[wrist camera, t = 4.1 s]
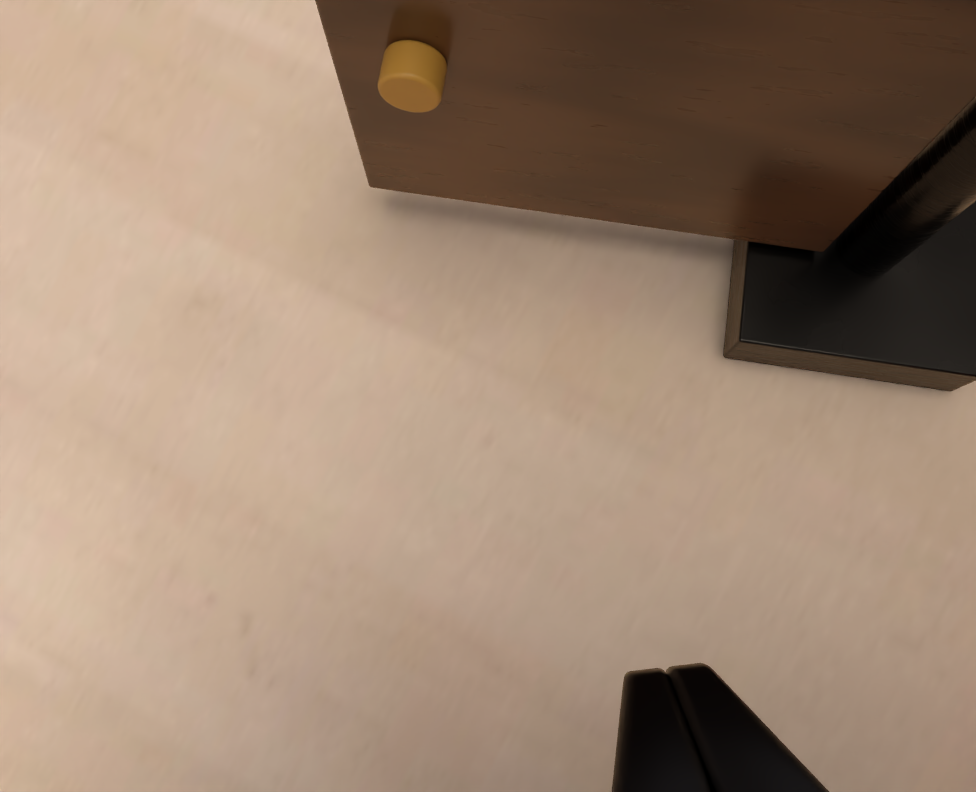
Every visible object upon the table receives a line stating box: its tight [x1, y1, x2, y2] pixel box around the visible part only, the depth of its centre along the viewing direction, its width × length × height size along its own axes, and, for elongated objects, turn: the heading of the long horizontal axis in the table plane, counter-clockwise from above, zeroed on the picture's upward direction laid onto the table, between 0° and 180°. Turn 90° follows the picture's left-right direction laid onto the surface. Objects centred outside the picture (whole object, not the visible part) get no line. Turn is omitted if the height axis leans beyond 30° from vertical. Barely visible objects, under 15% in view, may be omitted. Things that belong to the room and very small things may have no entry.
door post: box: [723, 97, 976, 391], centre depth 17 cm, size 6×6×12 cm
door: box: [315, 0, 976, 252], centre depth 16 cm, size 12×2×10 cm, turn 81°
